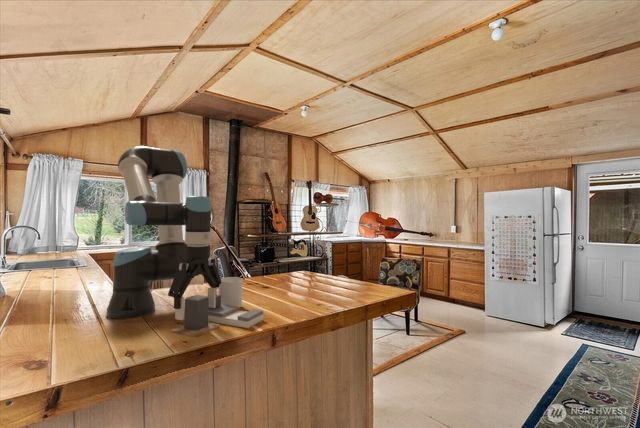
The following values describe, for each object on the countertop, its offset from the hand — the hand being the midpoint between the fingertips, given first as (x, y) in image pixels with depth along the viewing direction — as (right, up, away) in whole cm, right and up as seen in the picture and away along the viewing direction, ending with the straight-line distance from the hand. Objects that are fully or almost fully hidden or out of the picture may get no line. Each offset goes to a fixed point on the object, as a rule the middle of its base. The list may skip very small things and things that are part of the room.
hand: (196, 313), depth 102 cm
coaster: (0, -5, 0) cm, 5 cm away
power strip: (+6, -5, +10) cm, 13 cm away
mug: (+4, -5, +24) cm, 25 cm away
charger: (0, -4, 0) cm, 4 cm away
